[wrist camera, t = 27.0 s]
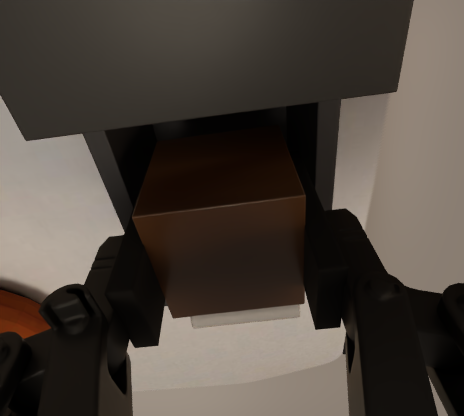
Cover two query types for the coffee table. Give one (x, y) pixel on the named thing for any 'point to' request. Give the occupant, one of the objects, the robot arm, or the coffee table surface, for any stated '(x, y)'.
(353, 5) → the cabinet
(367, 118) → the coffee table surface
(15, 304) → the donut
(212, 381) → the coffee table surface
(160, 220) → the block
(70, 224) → the coffee table surface
